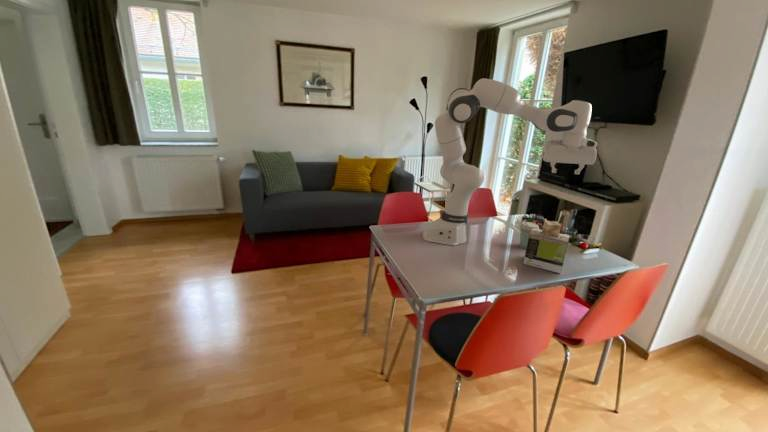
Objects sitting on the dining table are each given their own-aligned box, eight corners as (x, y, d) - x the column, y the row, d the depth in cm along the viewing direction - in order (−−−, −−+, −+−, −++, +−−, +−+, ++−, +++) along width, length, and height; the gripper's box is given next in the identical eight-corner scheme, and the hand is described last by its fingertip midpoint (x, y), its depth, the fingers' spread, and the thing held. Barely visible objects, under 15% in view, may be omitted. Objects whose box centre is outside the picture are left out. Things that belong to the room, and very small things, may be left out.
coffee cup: (520, 242, 165) (525, 220, 161) (537, 247, 159) (542, 225, 155) (513, 246, 159) (518, 223, 155) (530, 252, 153) (536, 228, 149)
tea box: (562, 265, 141) (570, 234, 136) (560, 274, 133) (569, 242, 128) (526, 256, 148) (532, 226, 144) (522, 264, 140) (529, 233, 136)
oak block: (545, 235, 134) (548, 224, 132) (541, 231, 138) (544, 220, 137) (558, 236, 133) (561, 225, 132) (554, 232, 138) (556, 221, 136)
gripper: (549, 140, 133) (542, 173, 138) (601, 143, 130) (593, 176, 135) (544, 139, 139) (538, 170, 143) (594, 141, 136) (586, 173, 141)
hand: (565, 173), depth 139 cm, fingers open, 8 cm apart
